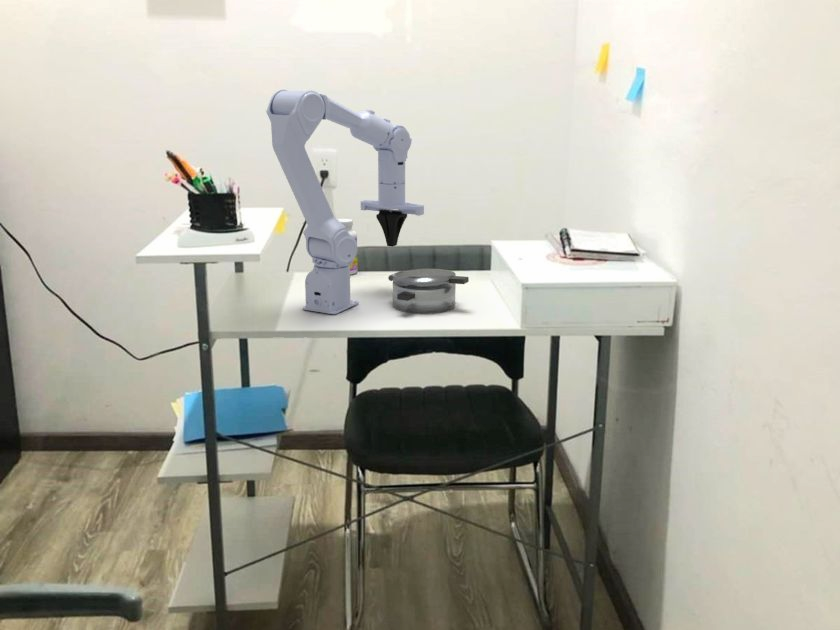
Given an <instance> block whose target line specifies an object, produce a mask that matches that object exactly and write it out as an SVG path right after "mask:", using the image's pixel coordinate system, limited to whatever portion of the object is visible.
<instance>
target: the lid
mask: <svg viewBox="0 0 840 630" xmlns="http://www.w3.org/2000/svg"><path fill="white" fill-rule="evenodd" d="M387 278H388V281H389V282H392V284H393V283H394V284H396V285H400V286H406V287H432V286H440V285H445V284H449V283H454V284H456V285H465V284H467V283H468V282H469V276H461V275H459V276H458V275H456V272H455V271H453V270H449V269H443V268H417V269H409V270H408V269H407V270H400V271H397V272H394V273H393V274H392V273H391V274H390V275H389V276H388V277H387Z"/></svg>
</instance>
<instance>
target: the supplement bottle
mask: <svg viewBox="0 0 840 630" xmlns="http://www.w3.org/2000/svg"><path fill="white" fill-rule="evenodd" d="M336 219H337V220H338V221H339V222H341V223H342V224H343V225H344V226H345V227H346V229H347V231H348V233H349V234H350V235H351V236H352V237H354V239H355V240H356V242H357V243H358V234H357V232H356V231H355V230H353V225H354V224H353V223H354V221H353V219H351V218H336ZM357 272H358V253H357V254H356V257H355V259H354V260H353V261H352V265H350V276H352V275H354V274H355V275H356V273H357Z"/></svg>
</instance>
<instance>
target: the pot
mask: <svg viewBox="0 0 840 630" xmlns="http://www.w3.org/2000/svg"><path fill="white" fill-rule="evenodd" d="M456 285H457V284H454V283H449V284H445V285H440V286H432V287H406V286H400V285H396V284H394V283H393V282H392V307H393V309H396V310H397V311H401V312H404V313H409V312H410V313H411V314H418V313H420V315H421V314H422V315H423V314H425V315H428V314H430V313H432V314H440V313H445V312H448V311H449V312H450V311H451V310H453V309H454V308H456ZM410 313H409V314H410Z"/></svg>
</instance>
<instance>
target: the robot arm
mask: <svg viewBox="0 0 840 630" xmlns="http://www.w3.org/2000/svg"><path fill="white" fill-rule="evenodd" d="M265 111H266V115H267V116H268V119H269V121H270V126H271V127H270V129H271V141H272V143H271V144H272V149H273V151H274V154H275V156H276V157H277V160H278V163H279V164H280V165H279V166H281V169H282V171H283V174H284V176H285V177H286V180H287V182H288V184H289V186H290V189H291V192H292V194H293V196H294V197H295V200H296V203H297V205H298V207H299V209H300V211H301V213H302V215H303V218H304V220H305V222H306V227H305V229H304V231H303V232H302V233H303V235H304V238H305V249H306V252H307V254H308V255H309V256H310V257H311V260H312V261H311V262H312V264H313V267H312V268H313V269H312V270H311V271H310V272H308V274H307V275H306V277H305V281H304V283H305V285H304V287H305V288H304V289H305V290H304V291H305V305H304V306H302V310H303V311H311V312H318V313H323V314H328V315H337V314H339V313H341V312H344V311H345V310H348V309H350V308H352V307H354V306H357V305H359V304H360V302H359V301H358V300H351V275H350V265H352V261H353V260H354V259H355V257H356V254H357V255H358V241H357V242H356V240H355V239H354V237H352V236H351V235H350V234H349V233H348V231H347V229H346V227H345V226H344V225H343V224H342V223H341V222H339V221H338V220H337V219H338V218H336V217H335V216H334V214H333V211H332V209H331V206H330V204H329V201H328V199H327V197H326V194H325V192H324V191H323V188H322V184H321V183H320V180H319V178H318V176H317V173H316V171H315V169H314V166H313V163H312V162H311V159H310V157H309V154H308V153H307V149H306V146H305V145H306V144H307V142H308V141H309V139H310V138H311V136H312V135H313V134H314V132H315V131H316V129H317V128H318V126H319V125H320V123H321V122H322V121H323V120H325V121H326V120H327V121H330V122H332V123H335V124H337V125H340V126H342V127H345V128H347V129H349V131H350V134H351V136H352V137H353V138H355V139H357V140H360V141H361V142H364V143H366V144H368V145H370V146H372V147H373V149H374V150H375V151H376V152H377V154H378V156H377V157H378V158H377V162H378V164H377V167H378V169H377V171H378V173H377V175H378V176H377V177H378V180H377V181H378V182H377V186H378V187H377V188H378V191H377V192H378V198H377V199H378V200H367V199H366V200H364V199H363V200H361V201H360V211H373V212H374V211H375V212H378V214H376V215H375V216H376V220H377V221H378V223H379V224H380V227H381V229H382V232H383V235H384V238H385V242H386V246H387V247H395V246H397V245H398V242H399V237H400V233H401V230H402V227H403V225H404V222H405V221H406V220H407V218H408V215H415V216H418V217H419V216H423V215H424V214H425V206H424V205H423V204H417V203H411V202H406V162H407V159H408V151H409V150H410V148H411V145H412V140H413V139H412V138H411V136H410V133H409V131H408V130H407V128H406V127H405V126H403V125H398V124H397V125H396V124H392V123H391V120H390V119H388V118H381V117H379V116H377V115H376V114H375V111H374V110H371V109H366V110H361V111H358V112H356V111H354V110H352V109H351V108H349V107H346V106H344V105H343V104H340V103H339V102H338V101H335V99H332V98H331V97H328V96H327V95H326V94H323V93H319V92H317V91H316V90H312V89H311V90H289V89H288V90H287V89H279V90H276V91H275V92H274V93H273V94H272V96H271V97H270V100H269V103H268V105H267V109H266V110H265Z"/></svg>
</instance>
